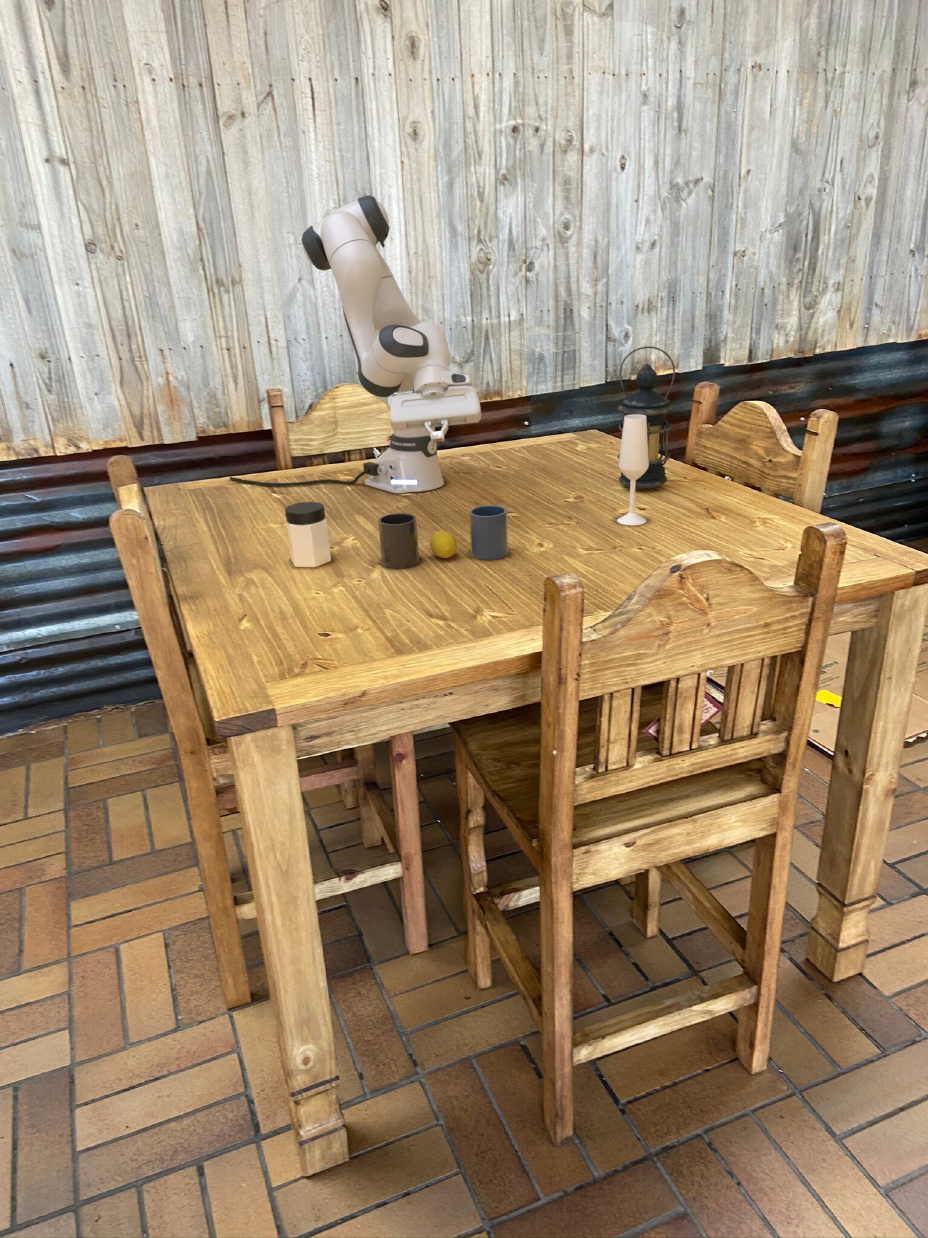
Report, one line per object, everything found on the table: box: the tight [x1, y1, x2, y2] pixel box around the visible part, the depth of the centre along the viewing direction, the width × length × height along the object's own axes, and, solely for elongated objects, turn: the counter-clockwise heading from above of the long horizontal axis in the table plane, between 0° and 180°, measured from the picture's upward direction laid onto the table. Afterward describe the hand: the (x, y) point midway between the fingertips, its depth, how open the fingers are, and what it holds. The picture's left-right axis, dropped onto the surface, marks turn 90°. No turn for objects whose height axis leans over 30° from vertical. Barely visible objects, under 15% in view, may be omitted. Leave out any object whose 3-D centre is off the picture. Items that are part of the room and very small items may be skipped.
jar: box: [284, 501, 332, 568], centre depth 188 cm, size 9×8×12 cm
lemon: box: [429, 530, 458, 559], centre depth 188 cm, size 6×6×8 cm
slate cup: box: [468, 504, 509, 561], centre depth 187 cm, size 8×8×10 cm
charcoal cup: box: [377, 512, 420, 569], centre depth 185 cm, size 8×8×10 cm
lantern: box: [617, 345, 676, 491], centre depth 222 cm, size 14×13×35 cm
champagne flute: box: [616, 414, 649, 526], centre depth 200 cm, size 7×7×24 cm
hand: (437, 440), depth 193 cm, fingers closed
